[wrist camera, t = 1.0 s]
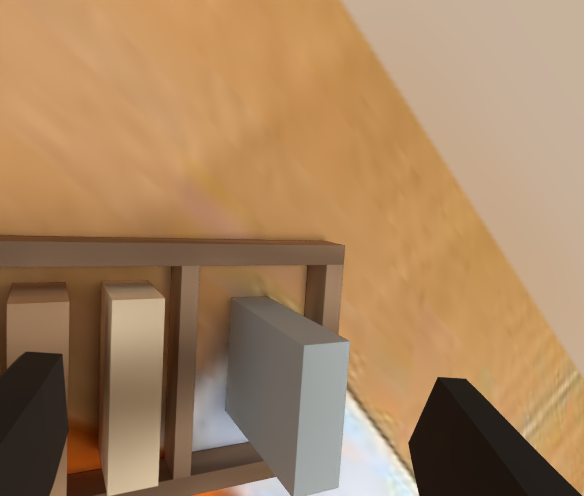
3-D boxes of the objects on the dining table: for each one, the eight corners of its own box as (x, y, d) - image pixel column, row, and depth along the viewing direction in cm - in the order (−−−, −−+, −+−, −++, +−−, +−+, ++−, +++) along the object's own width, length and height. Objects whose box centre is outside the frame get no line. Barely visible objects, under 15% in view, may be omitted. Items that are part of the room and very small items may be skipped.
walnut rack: (310, 447, 28) (328, 465, 27) (-72, 522, 20) (-83, 555, 19) (325, 240, 27) (345, 245, 25) (-77, 234, 19) (-89, 240, 17)
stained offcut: (62, 453, 23) (66, 504, 19) (12, 461, 22) (6, 517, 18) (65, 281, 22) (69, 301, 18) (12, 282, 21) (6, 304, 17)
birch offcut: (141, 440, 24) (158, 485, 21) (97, 447, 23) (107, 496, 20) (146, 279, 23) (165, 298, 20) (101, 280, 22) (112, 300, 19)
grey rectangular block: (260, 404, 27) (338, 487, 20) (225, 410, 26) (293, 498, 19) (267, 296, 26) (350, 341, 19) (231, 297, 25) (304, 345, 18)
